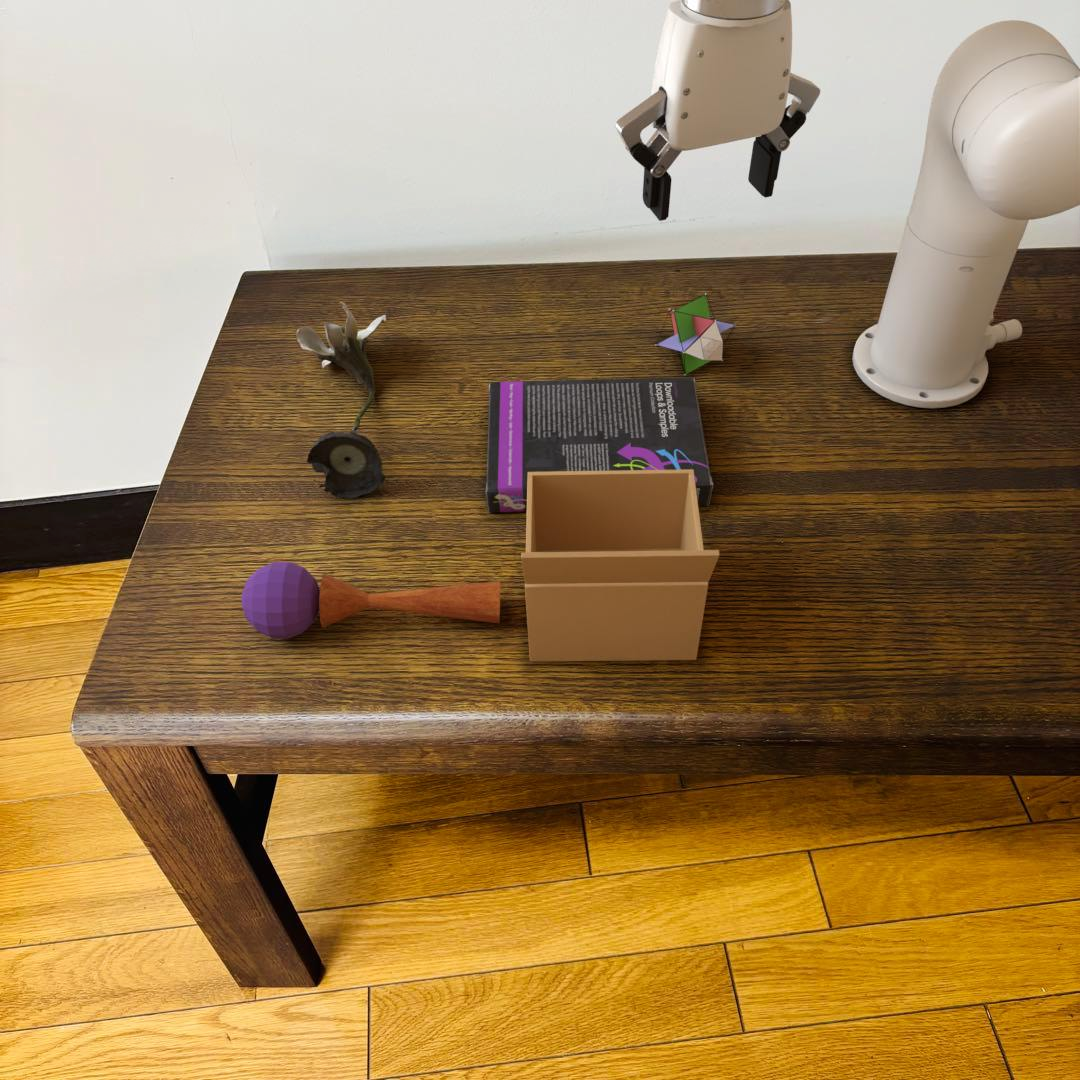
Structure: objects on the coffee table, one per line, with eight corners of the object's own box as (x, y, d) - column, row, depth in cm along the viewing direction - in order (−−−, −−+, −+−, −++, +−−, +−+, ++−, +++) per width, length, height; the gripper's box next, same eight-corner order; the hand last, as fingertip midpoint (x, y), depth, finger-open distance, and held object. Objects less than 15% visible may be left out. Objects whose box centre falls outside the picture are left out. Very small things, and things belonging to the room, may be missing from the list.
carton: (684, 547, 84) (693, 469, 77) (696, 660, 77) (708, 585, 69) (532, 549, 84) (527, 471, 77) (530, 661, 77) (524, 587, 70)
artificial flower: (303, 512, 90) (249, 426, 83) (343, 373, 106) (301, 292, 100) (394, 490, 88) (346, 400, 81) (421, 352, 104) (383, 268, 98)
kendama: (500, 620, 75) (229, 617, 74) (498, 652, 80) (245, 650, 79) (500, 550, 78) (240, 547, 77) (499, 585, 83) (255, 583, 82)
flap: (719, 549, 64) (719, 555, 64) (708, 576, 69) (708, 582, 69) (521, 552, 64) (521, 558, 64) (525, 578, 69) (525, 584, 69)
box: (487, 517, 87) (711, 509, 87) (483, 490, 85) (714, 482, 84) (492, 408, 96) (695, 400, 96) (488, 380, 94) (697, 372, 93)
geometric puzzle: (633, 330, 100) (669, 300, 92) (684, 304, 102) (724, 272, 95) (668, 393, 100) (707, 368, 92) (719, 365, 102) (760, 339, 95)
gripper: (814, -51, 76) (778, 160, 89) (603, -16, 72) (597, 198, 85) (867, -15, 71) (821, 202, 84) (644, 25, 68) (632, 245, 81)
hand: (708, 200), depth 85 cm, fingers open, 9 cm apart
